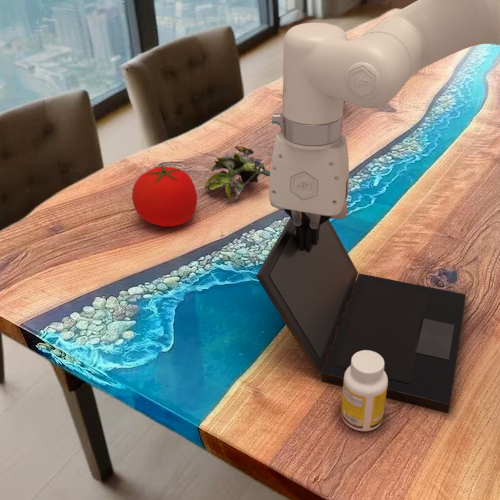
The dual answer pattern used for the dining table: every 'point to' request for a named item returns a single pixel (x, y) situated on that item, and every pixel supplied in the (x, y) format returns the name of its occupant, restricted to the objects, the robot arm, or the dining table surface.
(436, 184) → the dining table surface
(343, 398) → the supplement bottle
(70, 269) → the dining table surface
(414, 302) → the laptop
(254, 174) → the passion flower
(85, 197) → the dining table surface
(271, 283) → the laptop screen
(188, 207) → the tomato
